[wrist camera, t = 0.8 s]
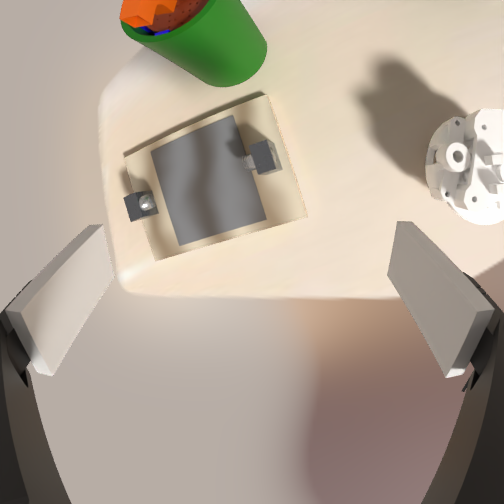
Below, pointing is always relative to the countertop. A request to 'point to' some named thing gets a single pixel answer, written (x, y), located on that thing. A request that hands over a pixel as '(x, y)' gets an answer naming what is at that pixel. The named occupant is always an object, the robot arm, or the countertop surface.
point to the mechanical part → (469, 166)
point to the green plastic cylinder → (199, 36)
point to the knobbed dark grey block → (141, 205)
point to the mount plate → (214, 181)
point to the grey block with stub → (262, 158)
